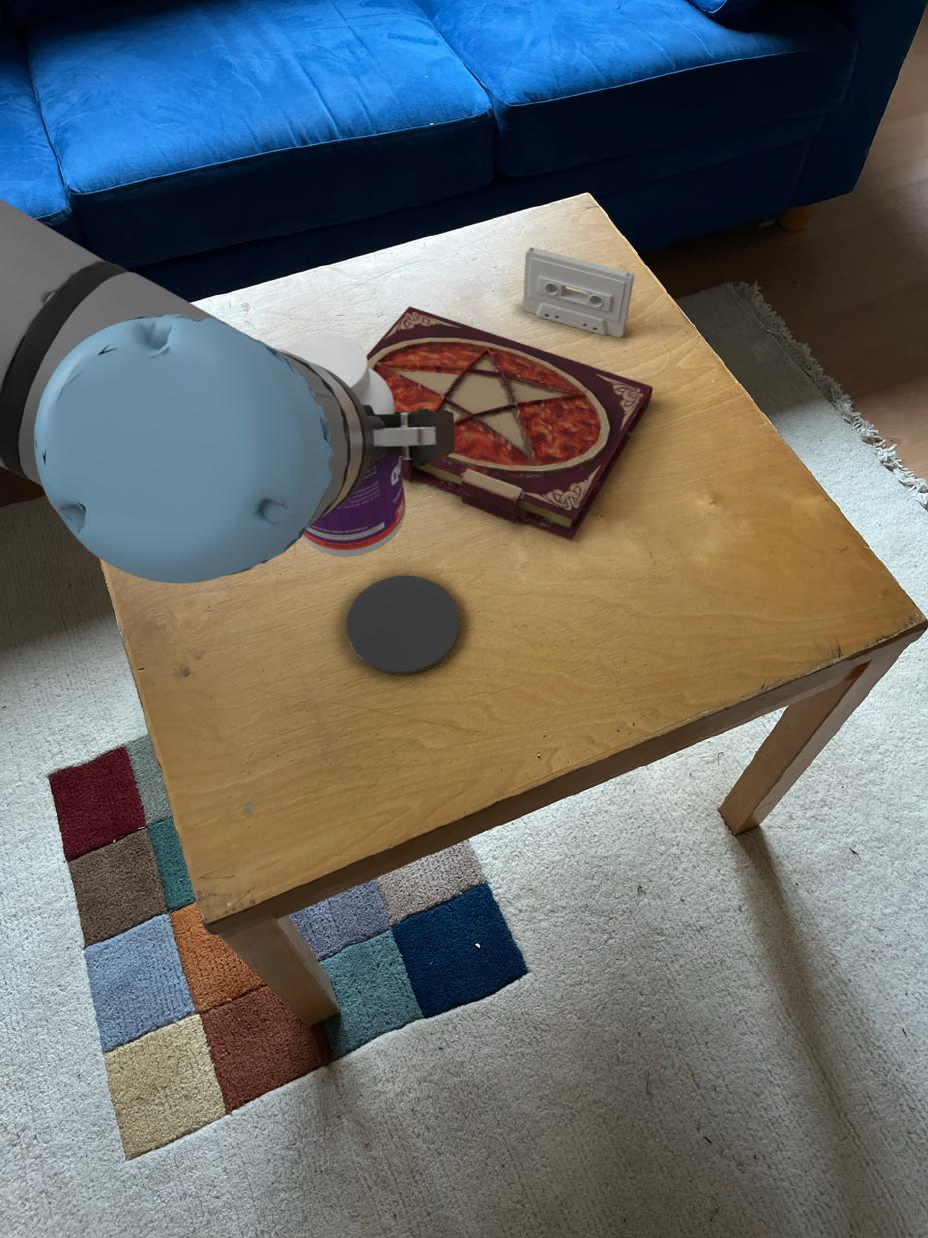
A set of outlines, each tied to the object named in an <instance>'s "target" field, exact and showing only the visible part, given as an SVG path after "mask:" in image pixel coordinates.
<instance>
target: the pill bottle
mask: <svg viewBox="0 0 928 1238" xmlns="http://www.w3.org/2000/svg"><path fill="white" fill-rule="evenodd" d="M282 350H284V351H287V352H289V353H292V354H294V355H297V356H299V357H301V358H303V359H305V360H307V361H309V362H311V363H313V364H316V365H318V366H321V367H323V368H325V369H327V370H329V371H330V372H332V373H334V374H335V375H337V376H338V377H339V378H340V379H342V380H343V381H344V382H345V383H346V384H347V385H348V386H349V387H350V388H351V389H352V391H353V392H354V393H355V394H356V396H357V397H358V399H359V401H360V402H361V404H362V405H370V406H371V407H372V409H373V411H374V413H375V414H394V412H395V406H394V400H393V396H392V393H391V390H390V389H389V387H388V385H387V384H386V382H385V381H384V380H383V378H382V377H381V376H380V375H379V374H377V373H376V372H375V371H374V370H372V369H370V368H369V366H368V360H367V354H366V352H365V349H364V348H363V347H362V346H361V345H360V344H359V343H358V342H356V341H354V340H353V339H351V338H349V337H347V336H344V335H340V334H335V333H316V334H310V335H306V336H302V337H300V338H298V339H296V340H294V341H292V342H291V343H289V344H288V345H287V346H285V347H284V348H283V349H282ZM405 495H406V494H405V487H404V479H403V478H402V469H401V460H400V456H398V457H389V458H380V459H378V460H377V461H376V464H375V467H374V468H372V469H367V471H366V474H365V476H364V478H363V480H362V482H361V483H360V485H359V487H358V488H357V489H356V491H355V492H354V493H353V494H352V496H351V497H350V498H349V499H348V500H347V501H345V502H344V503H343V504H342V505H340V506H339V507H338V508H336V509H335V510H334V511H332V512H331V513H329V514H328V515H326V516H324V517H322V518H320V519H319V520H318V521H317V522H315V523H314V524H312V525H310V526H309V527H308V528H307V529H306V531H305V533H304V534H303V535H302V537H301V538H302V539H303V540H304V541H305V542H306V543H307V544H308V545H310V546H311V547H313V548H314V549H315V550H317V551H319V552H321V553H324V554H327V555H330V556H334V557H340V558H342V557H343V558H345V557H346V558H349V557H351V558H352V557H358V556H364V555H366V554H369V553H372V552H374V551H376V550H379V549H380V548H382V547H384V546H386V545H387V544H388V543H390V541H391V540H393V538H394V537H396V535H397V534H398V533H399V531H400V529H401V528H402V526H403V524H404V521H405V517H406V512H407V511H406V508H407V505H406V496H405Z"/></svg>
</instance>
